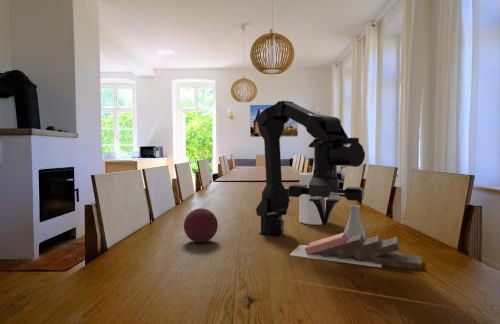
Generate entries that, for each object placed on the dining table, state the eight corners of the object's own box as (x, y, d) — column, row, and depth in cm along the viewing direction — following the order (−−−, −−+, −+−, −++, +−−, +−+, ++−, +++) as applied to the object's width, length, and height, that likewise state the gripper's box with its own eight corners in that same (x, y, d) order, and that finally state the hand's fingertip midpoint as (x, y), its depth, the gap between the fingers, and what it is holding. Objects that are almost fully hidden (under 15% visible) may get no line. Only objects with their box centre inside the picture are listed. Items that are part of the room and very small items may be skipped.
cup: (332, 221, 127) (332, 173, 126) (322, 226, 118) (322, 175, 117) (305, 217, 133) (305, 172, 132) (293, 222, 124) (293, 173, 123)
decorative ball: (224, 241, 98) (224, 208, 98) (198, 249, 91) (197, 213, 90) (203, 235, 105) (203, 204, 104) (177, 242, 98) (176, 208, 97)
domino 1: (304, 248, 85) (341, 237, 81) (310, 242, 90) (345, 232, 86) (307, 254, 85) (344, 243, 81) (312, 248, 90) (347, 237, 86)
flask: (368, 241, 99) (368, 208, 98) (343, 240, 100) (343, 207, 100) (364, 235, 106) (365, 204, 105) (341, 234, 107) (341, 203, 107)
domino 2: (320, 250, 83) (359, 239, 79) (325, 244, 89) (361, 233, 85) (323, 256, 83) (361, 245, 79) (327, 250, 88) (364, 239, 84)
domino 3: (337, 252, 81) (377, 241, 78) (341, 246, 87) (378, 235, 83) (340, 259, 81) (380, 247, 77) (343, 252, 87) (381, 241, 83)
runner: (289, 256, 84) (289, 254, 84) (300, 246, 94) (300, 244, 94) (381, 269, 75) (381, 267, 75) (383, 256, 85) (383, 254, 85)
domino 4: (354, 254, 80) (396, 243, 76) (357, 248, 85) (396, 236, 81) (357, 261, 80) (399, 249, 76) (360, 254, 85) (399, 243, 81)
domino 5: (374, 256, 78) (421, 264, 74) (375, 249, 83) (419, 256, 79) (373, 263, 78) (421, 271, 74) (375, 255, 83) (419, 262, 79)
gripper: (280, 165, 81) (280, 228, 82) (360, 167, 74) (359, 236, 74) (293, 164, 92) (293, 219, 92) (364, 165, 84) (363, 226, 85)
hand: (324, 225), depth 86 cm, fingers closed
